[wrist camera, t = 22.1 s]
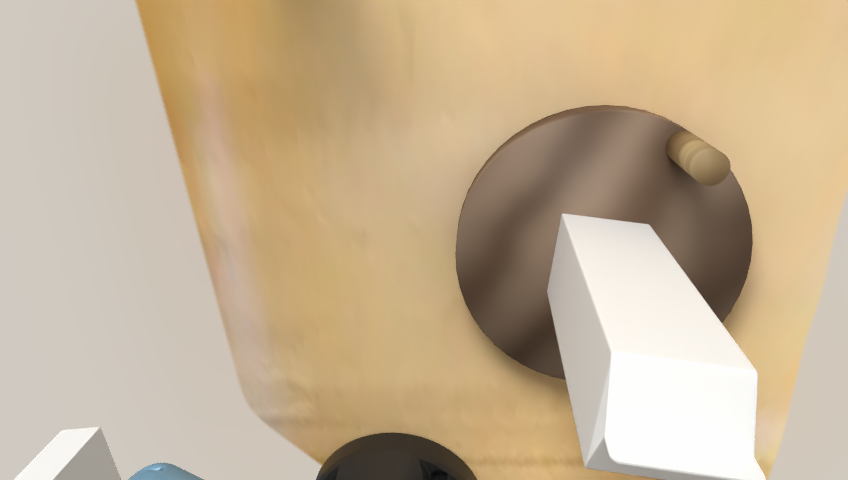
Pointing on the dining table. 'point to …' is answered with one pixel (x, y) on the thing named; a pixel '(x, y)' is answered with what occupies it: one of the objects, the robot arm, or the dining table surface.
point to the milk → (647, 359)
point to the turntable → (594, 197)
